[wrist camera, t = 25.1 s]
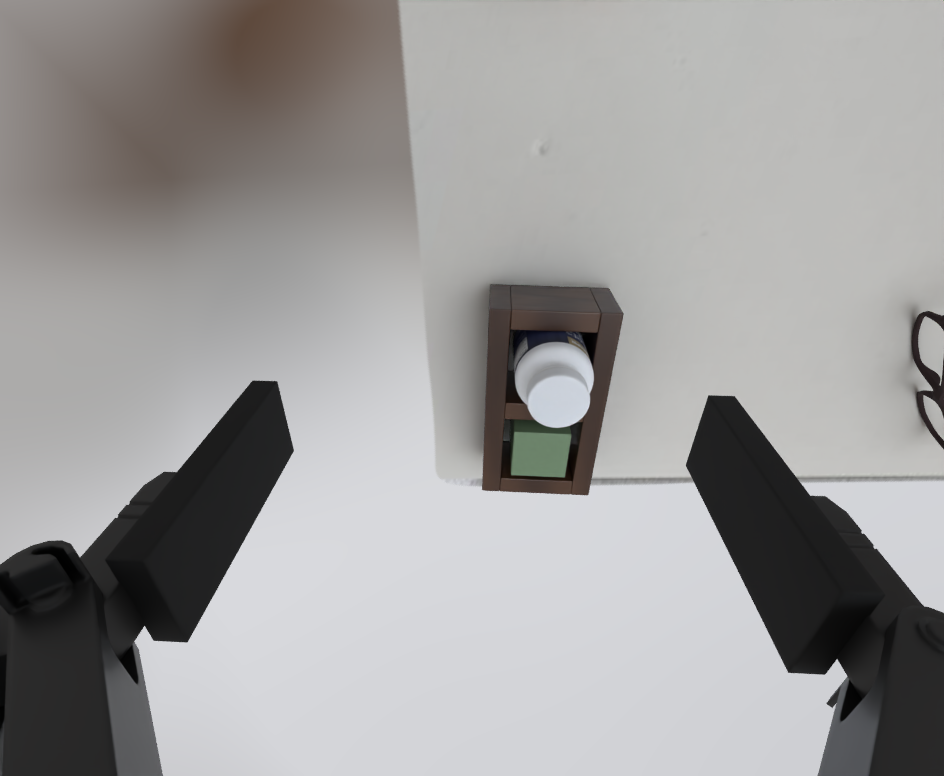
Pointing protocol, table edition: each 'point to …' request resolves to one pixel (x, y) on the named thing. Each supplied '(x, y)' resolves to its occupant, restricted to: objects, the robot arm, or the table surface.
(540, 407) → the pill bottle
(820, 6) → the table surface
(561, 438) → the peg
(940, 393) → the eyeglasses
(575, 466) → the wooden cubby shelf
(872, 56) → the table surface
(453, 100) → the table surface
